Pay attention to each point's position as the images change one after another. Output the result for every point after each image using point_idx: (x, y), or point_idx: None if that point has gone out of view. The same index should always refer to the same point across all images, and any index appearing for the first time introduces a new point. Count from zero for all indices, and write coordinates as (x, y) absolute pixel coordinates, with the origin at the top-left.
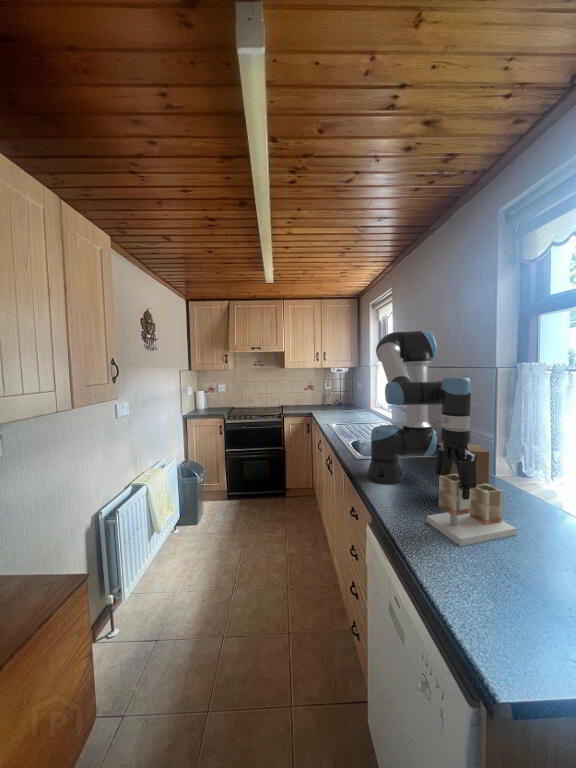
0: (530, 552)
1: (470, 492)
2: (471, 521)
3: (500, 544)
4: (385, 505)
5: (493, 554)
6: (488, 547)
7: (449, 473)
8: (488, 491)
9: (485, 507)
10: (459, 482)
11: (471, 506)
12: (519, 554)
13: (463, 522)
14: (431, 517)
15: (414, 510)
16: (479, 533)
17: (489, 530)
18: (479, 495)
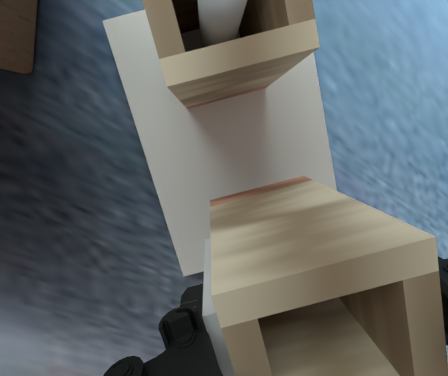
0: (394, 23)
1: (358, 203)
2: (233, 130)
3: (340, 94)
4: (60, 360)
5: (384, 154)
6: (350, 146)
7: (216, 362)
8: (291, 10)
9: (279, 75)
10: (444, 361)
11: (191, 102)
12: (397, 71)
13: (239, 166)
14: (197, 266)
15: (97, 275)
16: (319, 152)
17: (303, 101)
18: (246, 74)
